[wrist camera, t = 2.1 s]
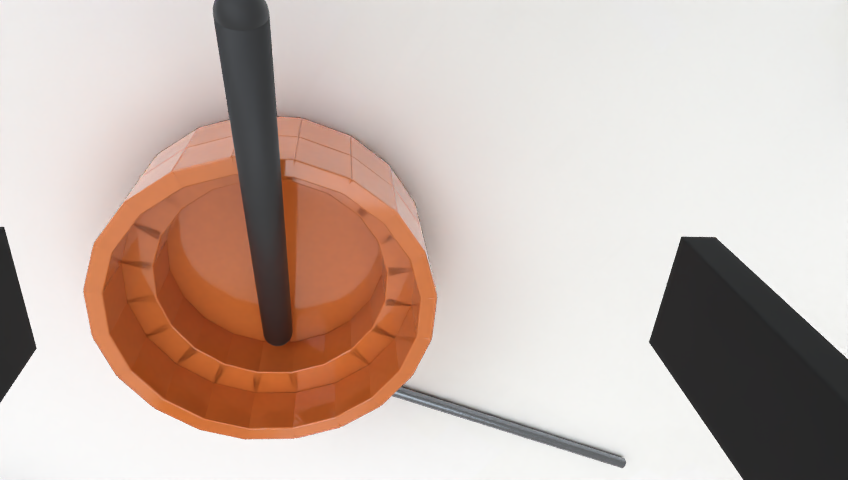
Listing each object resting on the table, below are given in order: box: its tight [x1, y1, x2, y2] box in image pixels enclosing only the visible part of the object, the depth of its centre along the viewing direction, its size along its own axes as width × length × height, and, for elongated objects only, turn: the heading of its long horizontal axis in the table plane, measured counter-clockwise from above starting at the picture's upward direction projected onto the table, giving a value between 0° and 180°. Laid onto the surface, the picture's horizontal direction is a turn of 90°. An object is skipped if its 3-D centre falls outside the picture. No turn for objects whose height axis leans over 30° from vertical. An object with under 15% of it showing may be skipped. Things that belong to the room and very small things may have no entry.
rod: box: [392, 387, 626, 468], centre depth 42 cm, size 1×19×1 cm, turn 63°
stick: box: [213, 0, 293, 346], centre depth 27 cm, size 20×2×10 cm, turn 175°
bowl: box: [83, 117, 437, 439], centre depth 32 cm, size 16×16×6 cm
